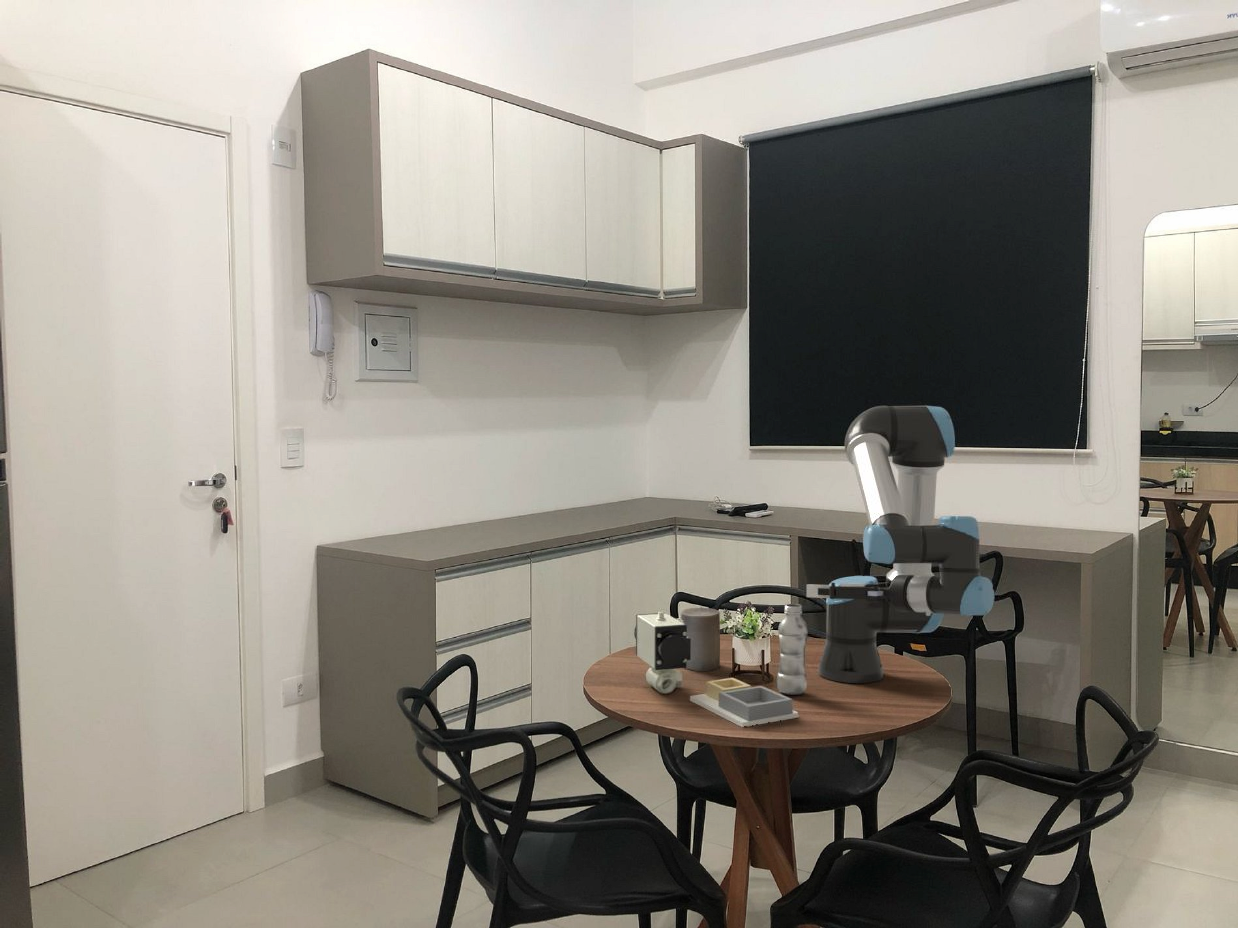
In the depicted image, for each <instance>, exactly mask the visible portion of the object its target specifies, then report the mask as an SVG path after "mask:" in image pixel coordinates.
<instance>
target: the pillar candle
mask: <svg viewBox="0 0 1238 928" xmlns="http://www.w3.org/2000/svg"><path fill="white" fill-rule="evenodd" d="M720 615H721V614H720V611H719V610H718V609H715V608H710V607H689V608H685V609H682V610H681V611H680V620H683V622H684V624H685V625H687V637H688V638H690V639H691V659H690V660H687V665H686V668H685V669H686V670H690V671H693V670H694V671H695V672H707V671H713V670H717V669H720V667H721V664H720V663H721V662H720V661H721V655H720V654H721V626H720V625H721V624H720V623H721V620H720V619H721V618H720V617H721V616H720Z"/></svg>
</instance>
